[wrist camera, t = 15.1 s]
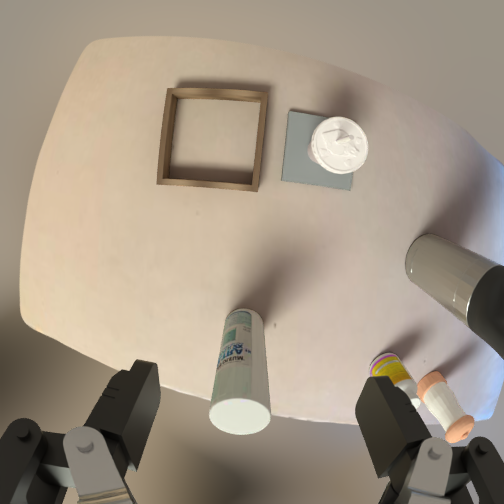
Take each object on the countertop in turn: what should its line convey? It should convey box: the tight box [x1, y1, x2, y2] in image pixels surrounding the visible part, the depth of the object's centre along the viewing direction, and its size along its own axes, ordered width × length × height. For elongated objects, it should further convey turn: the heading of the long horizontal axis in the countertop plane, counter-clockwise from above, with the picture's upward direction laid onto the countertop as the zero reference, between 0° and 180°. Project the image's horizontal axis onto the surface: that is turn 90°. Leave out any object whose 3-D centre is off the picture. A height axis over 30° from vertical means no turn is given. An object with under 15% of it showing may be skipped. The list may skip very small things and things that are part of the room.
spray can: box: [209, 308, 271, 435], centre depth 35 cm, size 6×6×20 cm
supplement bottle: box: [369, 353, 420, 409], centre depth 41 cm, size 7×7×13 cm
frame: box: [157, 88, 268, 192], centre depth 35 cm, size 14×14×3 cm
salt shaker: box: [417, 371, 474, 443], centre depth 41 cm, size 7×7×19 cm
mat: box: [281, 111, 353, 191], centre depth 37 cm, size 10×10×1 cm
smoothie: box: [307, 117, 368, 174], centre depth 30 cm, size 6×6×14 cm
